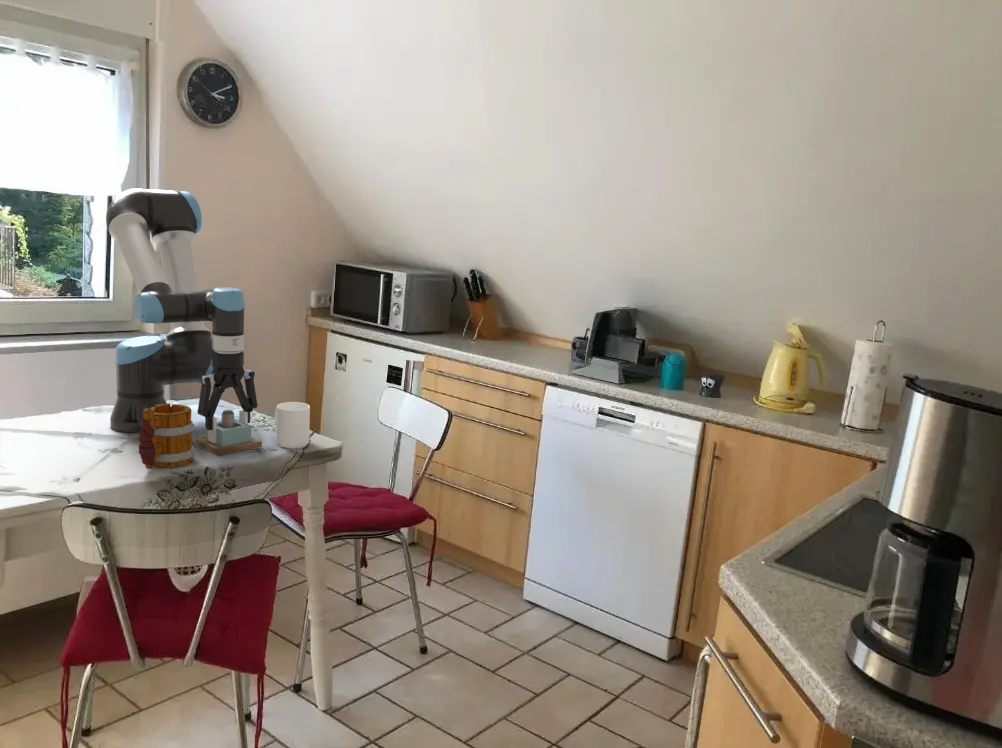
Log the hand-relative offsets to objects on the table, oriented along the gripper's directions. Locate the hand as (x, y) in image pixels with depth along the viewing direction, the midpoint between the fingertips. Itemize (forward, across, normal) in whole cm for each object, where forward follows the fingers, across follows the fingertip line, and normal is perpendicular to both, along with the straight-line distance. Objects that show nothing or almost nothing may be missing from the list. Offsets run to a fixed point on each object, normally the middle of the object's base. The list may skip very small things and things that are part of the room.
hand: (228, 438), depth 216 cm
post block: (+2, 0, 0) cm, 2 cm away
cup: (+2, +14, -6) cm, 15 cm away
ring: (0, 0, 0) cm, 0 cm away
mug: (+2, -19, -4) cm, 19 cm away
